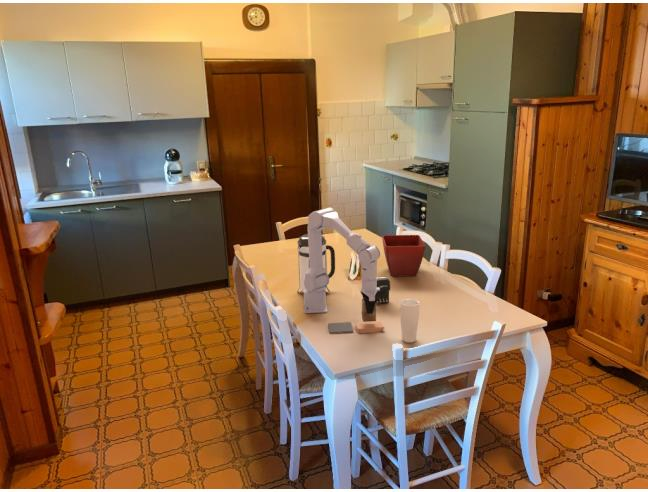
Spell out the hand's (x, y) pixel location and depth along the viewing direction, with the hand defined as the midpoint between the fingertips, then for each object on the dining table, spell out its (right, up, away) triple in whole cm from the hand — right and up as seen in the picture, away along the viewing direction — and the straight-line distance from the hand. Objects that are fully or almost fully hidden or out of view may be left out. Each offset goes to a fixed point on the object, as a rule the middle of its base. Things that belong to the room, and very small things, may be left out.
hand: (369, 311), depth 190 cm
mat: (-11, -7, +2) cm, 13 cm away
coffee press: (-21, +4, +38) cm, 43 cm away
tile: (0, -6, +3) cm, 6 cm away
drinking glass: (+14, -10, -8) cm, 19 cm away
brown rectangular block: (0, -3, +1) cm, 4 cm away
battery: (+8, 0, +24) cm, 25 cm away
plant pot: (+22, +12, +60) cm, 65 cm away
